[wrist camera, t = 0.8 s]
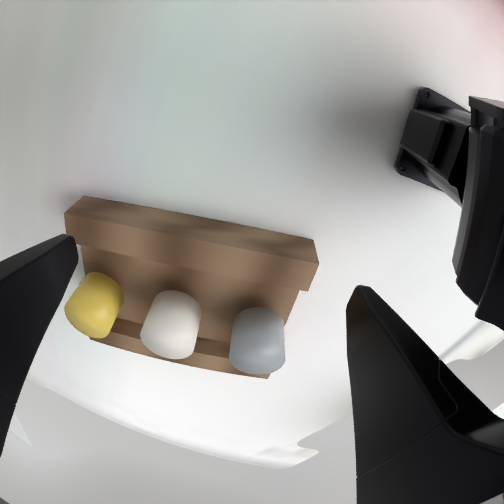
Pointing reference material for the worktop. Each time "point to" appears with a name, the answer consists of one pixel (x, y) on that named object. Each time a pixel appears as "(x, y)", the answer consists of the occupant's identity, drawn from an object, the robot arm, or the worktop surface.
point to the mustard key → (95, 305)
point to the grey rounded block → (257, 341)
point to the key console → (189, 270)
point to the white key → (172, 325)
